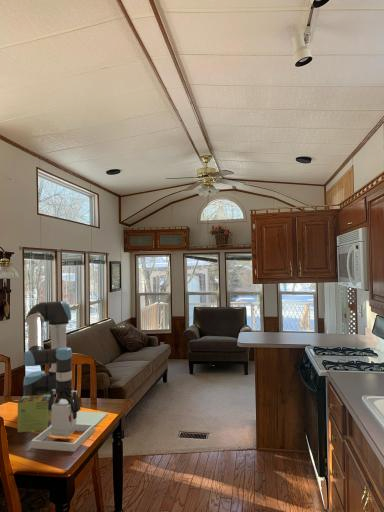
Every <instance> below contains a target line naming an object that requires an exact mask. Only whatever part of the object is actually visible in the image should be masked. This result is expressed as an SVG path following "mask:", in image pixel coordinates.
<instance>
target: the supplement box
mask: <svg viewBox="0 0 384 512" xmlns="http://www.w3.org/2000/svg"><path fill="white" fill-rule="evenodd" d="M72 400H73V402H74V399H72ZM54 403H55V402H54ZM54 403H53V405H52V423H51V425H52V433H51V434H50V436H54V437H64V438H68V437H69V436H70V435H72V434H73V433H74V432H76V431H75V430H76V419H75V425H74V426H71V413H72V410H71V404H69V403H68V401H67V400H66V399H64V398H62V399H60V401H59V402H58V403H55V404H54Z"/></svg>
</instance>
